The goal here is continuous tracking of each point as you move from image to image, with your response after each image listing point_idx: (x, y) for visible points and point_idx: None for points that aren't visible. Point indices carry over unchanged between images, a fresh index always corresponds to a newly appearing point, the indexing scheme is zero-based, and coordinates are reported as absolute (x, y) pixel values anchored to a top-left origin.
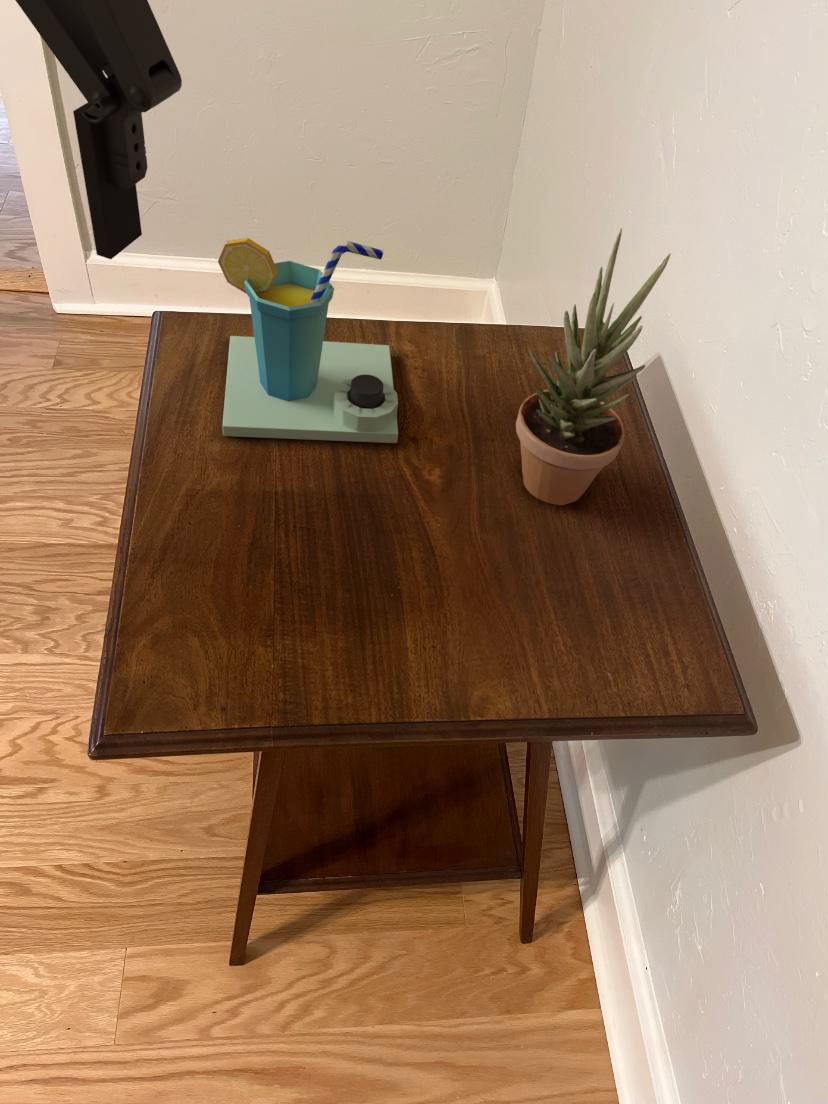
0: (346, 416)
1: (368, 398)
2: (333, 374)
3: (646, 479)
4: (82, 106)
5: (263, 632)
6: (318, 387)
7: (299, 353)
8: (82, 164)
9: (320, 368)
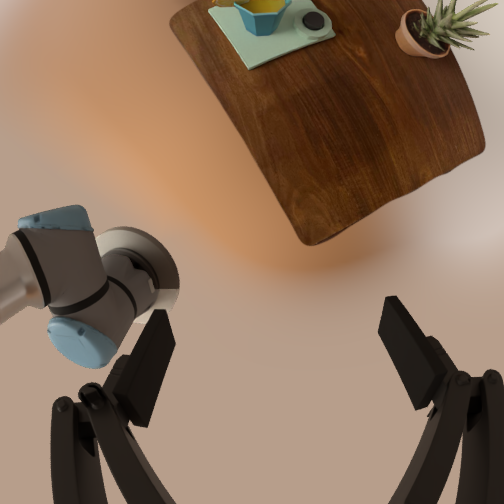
0: (309, 37)
1: (319, 26)
2: None
3: None
4: (420, 403)
5: (337, 178)
6: None
7: (277, 20)
8: (401, 379)
9: None
